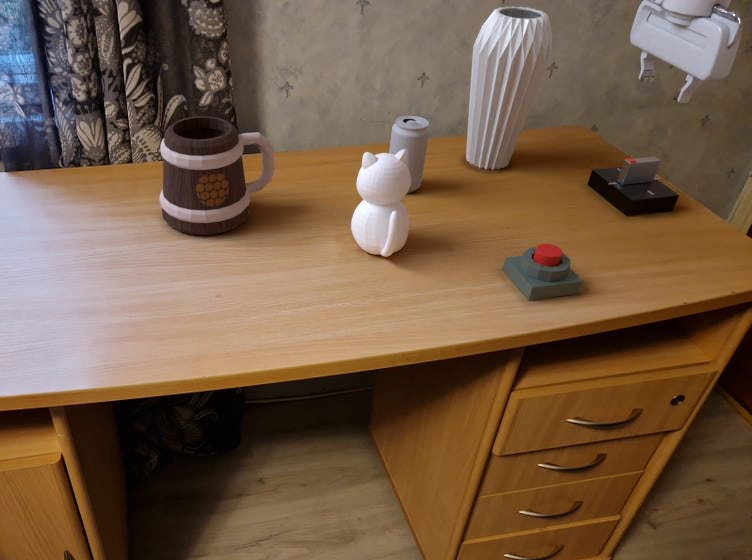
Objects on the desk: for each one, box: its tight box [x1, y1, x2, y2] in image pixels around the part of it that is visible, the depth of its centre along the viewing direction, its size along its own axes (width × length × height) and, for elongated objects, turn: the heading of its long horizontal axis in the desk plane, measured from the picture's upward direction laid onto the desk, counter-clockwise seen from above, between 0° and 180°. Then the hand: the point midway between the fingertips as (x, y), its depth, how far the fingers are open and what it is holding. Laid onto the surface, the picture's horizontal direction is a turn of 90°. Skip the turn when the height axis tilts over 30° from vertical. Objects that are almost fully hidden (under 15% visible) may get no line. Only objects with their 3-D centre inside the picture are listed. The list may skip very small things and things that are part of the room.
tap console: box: [586, 166, 680, 217], centre depth 119 cm, size 12×10×3 cm
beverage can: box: [388, 115, 431, 194], centre depth 119 cm, size 6×6×12 cm
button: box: [533, 243, 564, 267], centre depth 97 cm, size 4×4×2 cm
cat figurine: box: [350, 149, 411, 258], centre depth 102 cm, size 9×12×15 cm
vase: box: [465, 6, 553, 171], centre depth 123 cm, size 13×13×26 cm
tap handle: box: [617, 156, 662, 185], centre depth 117 cm, size 6×2×4 cm, turn 102°
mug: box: [158, 115, 275, 236], centre depth 110 cm, size 20×15×15 cm
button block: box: [501, 246, 584, 301], centre depth 99 cm, size 8×8×4 cm
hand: (662, 91), depth 110 cm, fingers open, 8 cm apart
